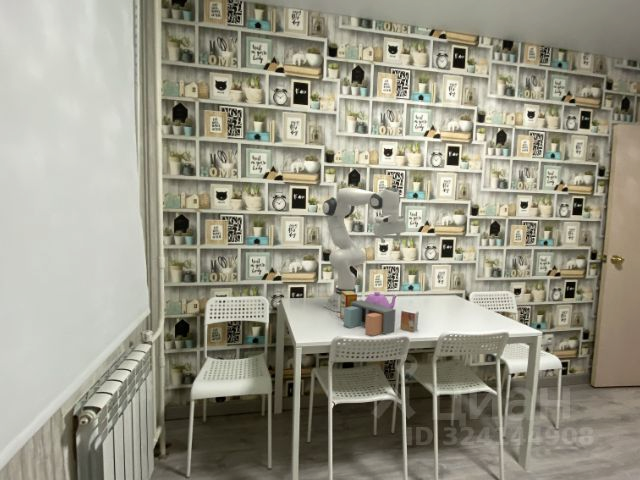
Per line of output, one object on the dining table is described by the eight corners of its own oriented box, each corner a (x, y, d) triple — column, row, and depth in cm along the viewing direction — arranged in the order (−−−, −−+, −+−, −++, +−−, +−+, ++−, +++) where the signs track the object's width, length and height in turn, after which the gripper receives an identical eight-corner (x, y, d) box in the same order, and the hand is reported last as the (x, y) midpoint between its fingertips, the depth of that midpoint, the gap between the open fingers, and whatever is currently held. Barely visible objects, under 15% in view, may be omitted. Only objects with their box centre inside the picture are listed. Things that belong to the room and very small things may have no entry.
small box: (400, 329, 223) (401, 310, 222) (403, 327, 228) (404, 308, 227) (414, 332, 219) (415, 313, 218) (417, 329, 223) (418, 311, 222)
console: (384, 334, 213) (385, 312, 212) (349, 323, 232) (350, 302, 230) (394, 331, 219) (395, 309, 218) (360, 320, 237) (361, 299, 236)
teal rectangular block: (350, 327, 222) (350, 310, 221) (343, 325, 226) (344, 307, 225) (361, 324, 228) (362, 307, 227) (354, 322, 231) (355, 305, 230)
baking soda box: (340, 316, 244) (341, 290, 242) (350, 316, 245) (351, 290, 244) (345, 321, 234) (346, 294, 233) (355, 320, 236) (357, 293, 234)
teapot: (397, 321, 238) (398, 298, 237) (360, 317, 243) (361, 295, 241) (398, 311, 260) (399, 290, 259) (364, 308, 264) (364, 287, 263)
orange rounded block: (372, 335, 210) (373, 316, 209) (365, 333, 214) (366, 314, 213) (383, 332, 216) (384, 314, 215) (376, 330, 220) (377, 311, 219)
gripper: (401, 214, 231) (400, 238, 234) (372, 218, 221) (371, 242, 225) (409, 216, 226) (408, 240, 229) (379, 220, 216) (378, 245, 219)
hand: (389, 241), depth 227 cm, fingers open, 8 cm apart
